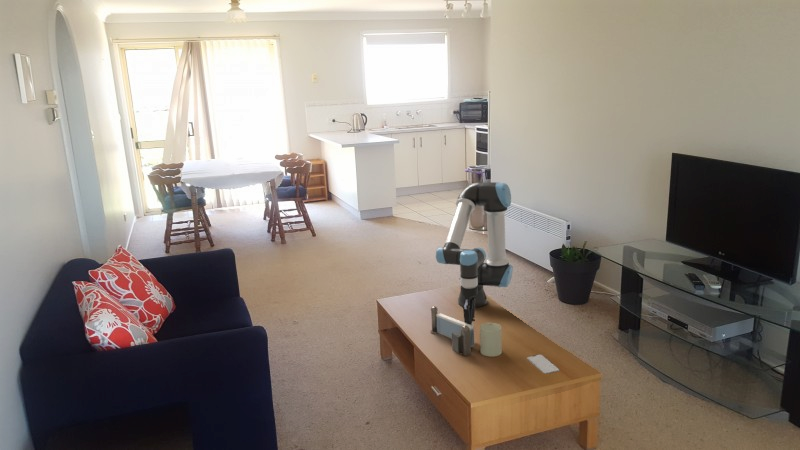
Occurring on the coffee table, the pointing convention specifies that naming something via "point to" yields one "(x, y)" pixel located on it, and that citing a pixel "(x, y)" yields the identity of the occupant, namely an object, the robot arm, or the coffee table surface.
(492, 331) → the can
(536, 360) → the smartphone
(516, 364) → the coffee table surface
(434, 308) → the hinge post
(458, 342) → the latch post
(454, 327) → the gate
